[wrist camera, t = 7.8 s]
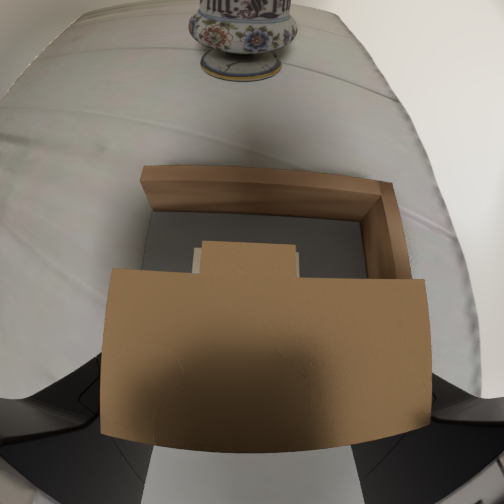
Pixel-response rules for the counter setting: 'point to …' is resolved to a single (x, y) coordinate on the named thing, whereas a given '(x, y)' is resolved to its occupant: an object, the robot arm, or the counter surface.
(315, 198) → the corner walls
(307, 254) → the mat
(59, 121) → the counter surface
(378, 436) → the wooden l-shaped block
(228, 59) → the apothecary jar
